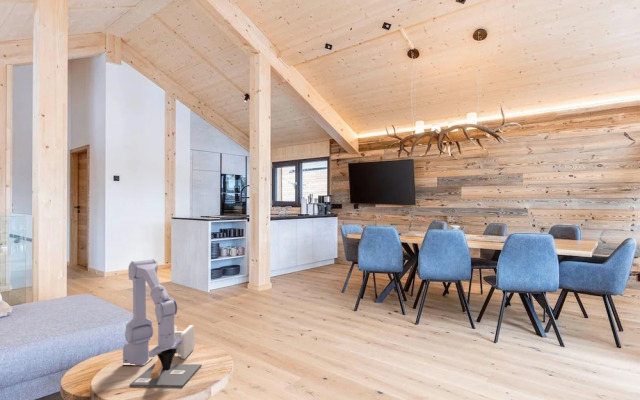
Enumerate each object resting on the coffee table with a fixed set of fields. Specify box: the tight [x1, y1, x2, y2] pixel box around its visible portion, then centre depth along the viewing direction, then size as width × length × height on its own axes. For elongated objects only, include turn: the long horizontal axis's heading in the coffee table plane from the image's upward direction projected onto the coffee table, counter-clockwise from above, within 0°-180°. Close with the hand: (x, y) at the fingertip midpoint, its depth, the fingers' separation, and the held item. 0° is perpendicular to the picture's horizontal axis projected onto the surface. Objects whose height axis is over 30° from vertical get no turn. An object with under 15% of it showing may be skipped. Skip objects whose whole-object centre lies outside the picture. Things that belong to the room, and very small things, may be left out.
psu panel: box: [129, 363, 202, 389], centre depth 147 cm, size 20×18×1 cm
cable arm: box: [151, 356, 163, 379], centre depth 145 cm, size 16×3×5 cm, turn 13°
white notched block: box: [174, 324, 196, 360], centre depth 168 cm, size 15×11×12 cm
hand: (166, 369), depth 142 cm, fingers closed
